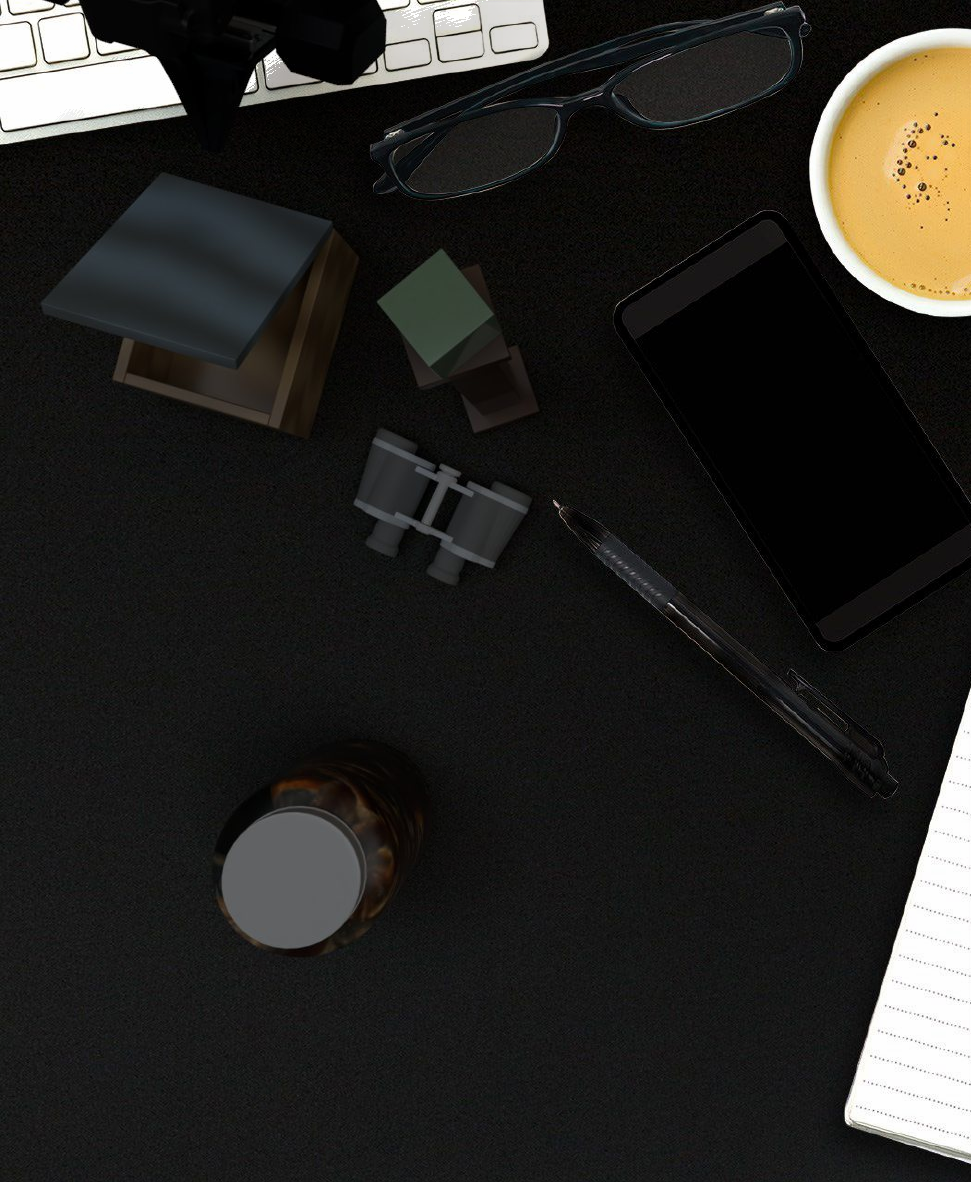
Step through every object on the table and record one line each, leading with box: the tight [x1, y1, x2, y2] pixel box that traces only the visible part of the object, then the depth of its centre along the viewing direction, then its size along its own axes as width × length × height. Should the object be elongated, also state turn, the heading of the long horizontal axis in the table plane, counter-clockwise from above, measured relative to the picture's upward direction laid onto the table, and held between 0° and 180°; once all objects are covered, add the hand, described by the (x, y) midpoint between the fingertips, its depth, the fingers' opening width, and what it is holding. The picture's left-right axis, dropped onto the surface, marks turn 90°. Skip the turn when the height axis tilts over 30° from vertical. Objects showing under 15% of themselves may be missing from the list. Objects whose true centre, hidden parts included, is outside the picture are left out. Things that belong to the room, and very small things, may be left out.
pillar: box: [398, 263, 542, 436], centre depth 65 cm, size 5×5×22 cm
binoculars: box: [353, 427, 533, 587], centre depth 75 cm, size 12×8×4 cm, turn 65°
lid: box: [40, 171, 334, 370], centre depth 64 cm, size 14×12×1 cm
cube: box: [376, 248, 504, 380], centre depth 52 cm, size 4×4×4 cm
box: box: [111, 228, 360, 440], centre depth 73 cm, size 14×12×7 cm
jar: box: [211, 739, 434, 958], centre depth 70 cm, size 12×12×15 cm
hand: (214, 150), depth 62 cm, fingers closed
